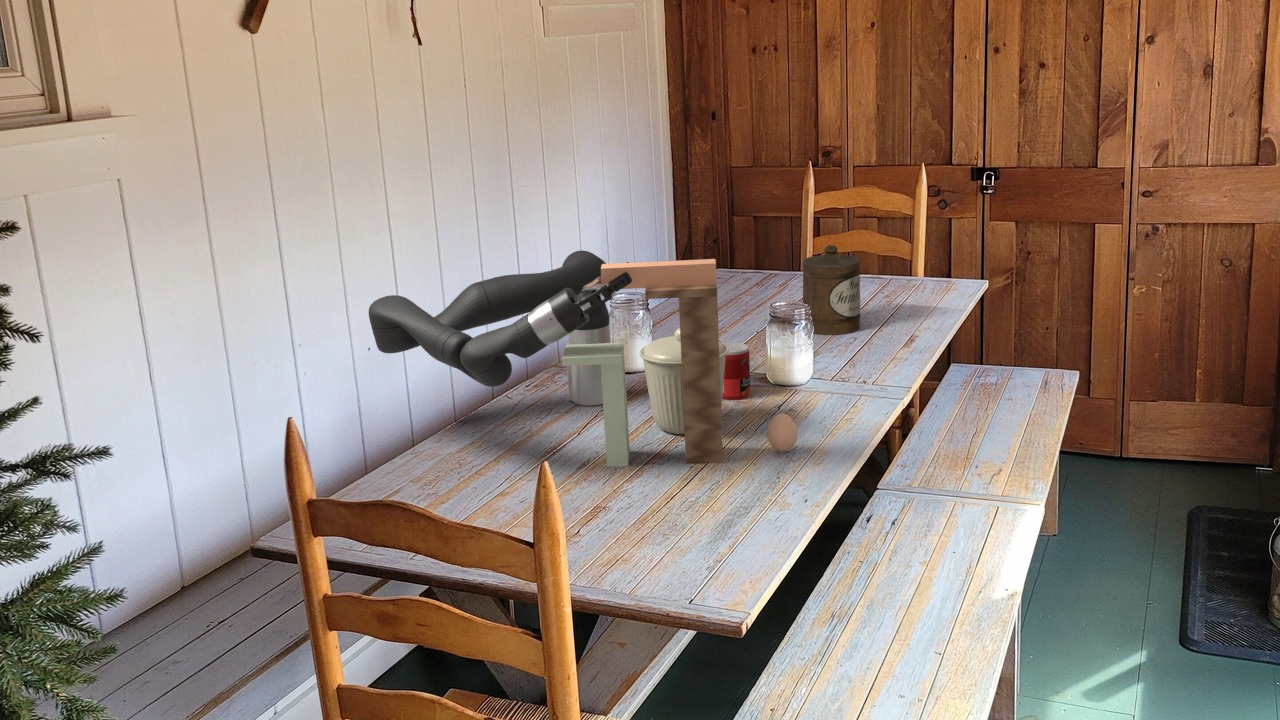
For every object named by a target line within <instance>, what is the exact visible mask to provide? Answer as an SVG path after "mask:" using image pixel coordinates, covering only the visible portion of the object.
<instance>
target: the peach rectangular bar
mask: <svg viewBox="0 0 1280 720" xmlns="http://www.w3.org/2000/svg"><path fill="white" fill-rule="evenodd" d="M624 272H628V274H629V275H630V277H631V278H632V282H631V283H630V284H628V285H627V286H625V287H624V288H622V289H621V290H630V289H633V290H634V289H646V288H657V287H680V286H702V285H717V286H718V283H717V262H716V258H708V259H705V258H704V259H686V260H685V259H683V260H669V261H668V260H664V261H663V260H662V261H659V260H658V261H642V262H641V261H640V262H629V263H626V262H619V263H615V262H614V263H606V264H602V266H601V280H602V285H603V284H605V283H607V282H609V281H611V280H613V279H614V278H616V277H617V276H619V275H621V274H622V273H624ZM609 284H610V283H609Z"/></svg>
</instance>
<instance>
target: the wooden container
mask: <svg viewBox="0 0 1280 720" xmlns="http://www.w3.org/2000/svg"><path fill="white" fill-rule="evenodd" d="M823 250H824V252H825V253H824V254H820V255H819V254H818V255H812V256H809V257H806V258H804V259H803V262H802V304H803V303H804V304H808V305H809V306H810V310H811V317H812V322H813V326H814V333H813V334H816V335H821V334H822V335H823V336H824V335H826V336H839V335H847V334H850V333H854V332H856V331H858V330H860V329H861V276H860V275H861V273H860V270H861V261H860V258H858V257H857V256H853V255H849V254H848V255H845V254H838V246H837V245H836V246H835V245H833V244H829V245H827V246H825V247H824V249H823Z"/></svg>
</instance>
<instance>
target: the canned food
mask: <svg viewBox="0 0 1280 720" xmlns="http://www.w3.org/2000/svg"><path fill="white" fill-rule="evenodd" d="M723 343H724V342H723ZM724 344H726V345H727V346H728V348H729V351H728V353H727V354H726V356H725V370H724V383H723V395H722V400H725V401H736V400H742V399H745V398H748V397H749V396H750V393H751V368H750V367H751V366H750V365H751V363H750V362H751V361H750V348H749V347H750V346H748V345H747V344H744V343H740V342H725V343H724Z"/></svg>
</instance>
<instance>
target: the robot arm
mask: <svg viewBox="0 0 1280 720" xmlns="http://www.w3.org/2000/svg"><path fill="white" fill-rule="evenodd" d="M625 263H630V262H629V261H626V262H625ZM602 264H607V263H606V262H605V261H604V260H603V259H602V258H601V257H600V256H598V255H596V254H594V253H592V252H591V251H588V250H576V251H573V252H572V253H570V254H569V255H567V256H566V258H565V259H564V261H563V263H562V264H561V266H560V267H558V268H557V267H556V268H554V269H552V270H549V271H544V272H537V273H536V272H533V273H517V274H515V273H514V274H506V275H499V276H495V277H492V278H488V279H484V280H480V281H475V282H474V283H471V284H470V285H469V286H467V287H465V289H463V291H461V292H460V293H459V294H458V295H457V296H456V297H455V298H454V299H453V300H452V302H450V304H449V305H447V307H445V308H444V309H443V310H442V311H441V312H439V313H438V314H437V315H435V316H432V314H429V313H428V312H427V311H425V310H424V309H423V308H422V307H420V306H419V305H417V304H416V303H415V302H413V301H412V300H411V299H409V298H407V297H405V296H401V295H395V294H393V295H392V294H391V295H386V296H383V297H380V298H377V299H375V300H374V301H373V302H372V303H371V304H370V306H369V308H368V318H369V323H370V327H371V330H372V334H373V337H374V342H375V344H376V348H377V350H378V351H380V352H381V353H383V354H398V353H403V352H407V351H410V350H413V349H415V348H418V347H421V348H422V349H423V350H424V351H425V352H426V353H427V354H428V355H429V356H430V357H432V358H433V359H435V360H436V361H438V362H439V363H443V364H444V365H446V366H449V367H451V368H454V369H457V370H459V372H460V371H461V372H462V373H463V374H465V375H466V376H468V377H470V378H471V379H473V380H474V381H476V382H477V383H479V384H480V385H483V386H485V387H489V388H495V387H499V386H502V385H503V384H505V383H506V382H508V380H509V379H510V378H511V375H512V371H513V366H512V362H511V360H510V358H509V357H508V354H512V355H515V356H517V357H520V358H521V359H528V358H530V357H532V356H534V355H535V354H536V353H538V352H540V351H542V350H543V349H545V348H546V347H548V346H550V345H552V344H554V343H556V342H558V341H560V340H562V339H563V338H565V337H566V336H568V345H578V344H601V343H612V340H611V327H610V313H609V310H608V307H607V304H606V303H607V302H609V301H611V300H612V298H613V297H614V296H615V295H616V293H617V292H619V291H620V290H623V289H622V288H624V287H625V286H627V285H628V284H630V283H631V282H632V278H631V277H630V275H629V274H628V272H624V273H622V274H621V275H619V276H617V277H616V278H614V279H613V280H611V281H609V282H607V283H605V284H603V285H602V280H601V266H602ZM609 283H610V284H609ZM521 315H523V316H522V317H520V318H519V319H518V320H516V321H514V322H513V323H511V324H508V325H505V326H503V327H500V328H495V329H493V330H489V331H486V332H483V333H480V334H479V335H476V336H474V337H472V336H471V335H470V334H467V333H465V331H467V330H472V329H474V328H480V327H484V326H488V325H492V324H494V323H499V322H502V321H505V320H506V321H507V320H509V319H512V318H515V317H518V316H521ZM566 374H567V375H566V377H567V390H568V400H569V401H571V402H573V403H574V404H576V405H579V406H599V405H600V406H601V405H603V395H602V379H601V364H599V365H575V366H566Z"/></svg>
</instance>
